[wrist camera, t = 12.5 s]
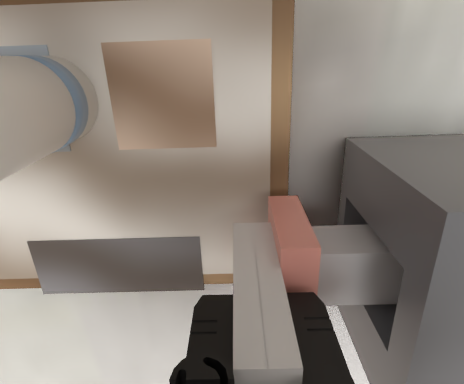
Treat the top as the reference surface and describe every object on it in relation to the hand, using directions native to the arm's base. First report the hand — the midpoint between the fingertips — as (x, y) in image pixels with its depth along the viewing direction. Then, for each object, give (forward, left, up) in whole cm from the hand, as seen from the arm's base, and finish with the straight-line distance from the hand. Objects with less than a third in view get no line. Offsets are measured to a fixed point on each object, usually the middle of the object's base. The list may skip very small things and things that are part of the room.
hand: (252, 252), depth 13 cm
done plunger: (0, +4, -1) cm, 4 cm away
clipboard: (-4, -6, -2) cm, 8 cm away
